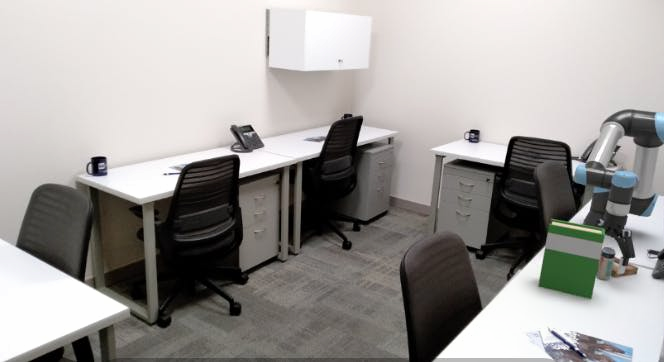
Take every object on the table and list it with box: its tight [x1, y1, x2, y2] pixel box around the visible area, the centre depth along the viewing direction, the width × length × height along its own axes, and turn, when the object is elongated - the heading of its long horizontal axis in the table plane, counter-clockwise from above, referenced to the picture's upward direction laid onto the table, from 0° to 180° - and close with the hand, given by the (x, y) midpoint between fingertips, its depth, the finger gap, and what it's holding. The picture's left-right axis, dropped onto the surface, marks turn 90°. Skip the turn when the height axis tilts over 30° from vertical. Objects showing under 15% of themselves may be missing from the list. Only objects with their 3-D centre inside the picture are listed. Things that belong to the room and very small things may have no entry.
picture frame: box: [610, 256, 639, 278], centre depth 210 cm, size 12×12×3 cm
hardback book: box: [537, 218, 606, 300], centre depth 188 cm, size 18×7×24 cm, turn 64°
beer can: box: [596, 246, 616, 281], centre depth 201 cm, size 5×5×12 cm
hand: (605, 265), depth 201 cm, fingers open, 13 cm apart
